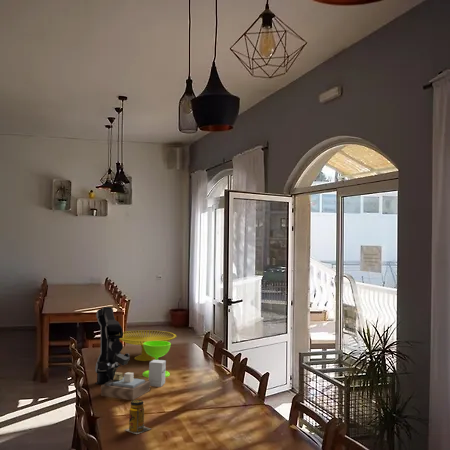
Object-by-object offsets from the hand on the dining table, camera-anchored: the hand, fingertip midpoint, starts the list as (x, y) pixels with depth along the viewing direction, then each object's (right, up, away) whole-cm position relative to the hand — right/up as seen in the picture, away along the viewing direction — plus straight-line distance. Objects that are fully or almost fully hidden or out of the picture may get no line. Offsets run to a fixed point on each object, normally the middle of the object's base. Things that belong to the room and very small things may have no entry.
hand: (111, 379), depth 279 cm
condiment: (+21, -7, -49) cm, 54 cm away
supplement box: (+20, -9, +20) cm, 30 cm away
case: (+7, -8, +3) cm, 10 cm away
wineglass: (+17, -9, +42) cm, 46 cm away
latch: (+2, -1, +5) cm, 5 cm away
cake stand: (+5, -9, +82) cm, 83 cm away
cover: (+8, -3, +3) cm, 9 cm away
